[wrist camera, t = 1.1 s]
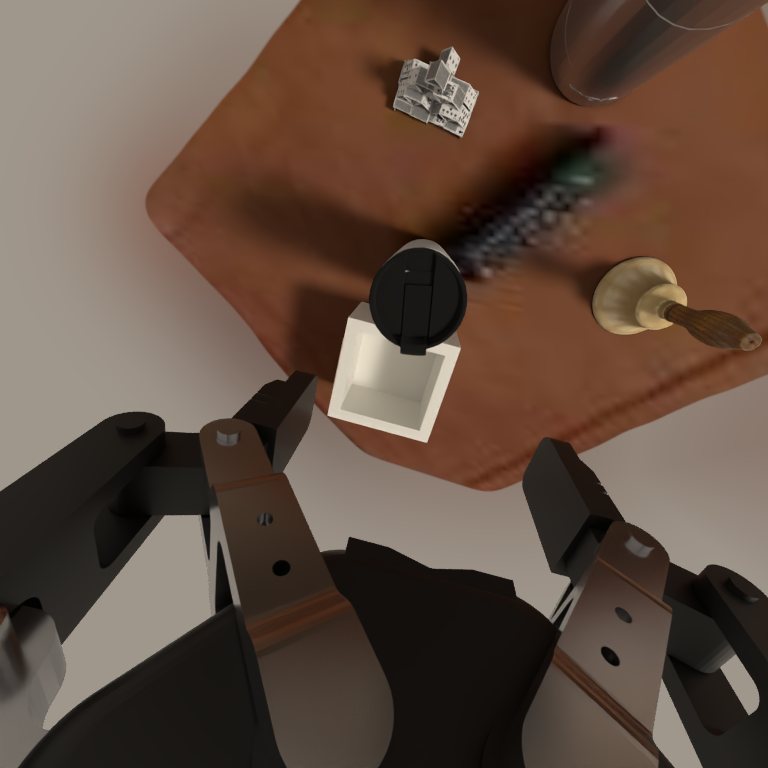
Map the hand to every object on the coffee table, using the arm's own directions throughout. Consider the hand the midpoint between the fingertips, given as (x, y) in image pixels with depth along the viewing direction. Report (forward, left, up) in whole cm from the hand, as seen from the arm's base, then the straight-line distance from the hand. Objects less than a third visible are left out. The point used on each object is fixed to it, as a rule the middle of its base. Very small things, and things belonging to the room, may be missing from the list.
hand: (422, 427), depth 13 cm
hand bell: (-5, +22, -32) cm, 39 cm away
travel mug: (-2, -1, -32) cm, 32 cm away
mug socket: (+9, -1, -31) cm, 33 cm away
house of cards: (-19, -3, -32) cm, 37 cm away
